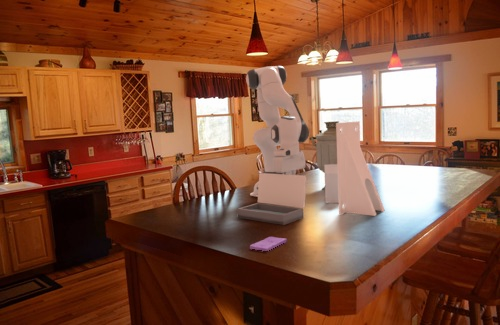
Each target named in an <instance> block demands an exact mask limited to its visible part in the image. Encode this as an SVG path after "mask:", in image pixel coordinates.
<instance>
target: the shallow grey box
mask: <svg viewBox="0 0 500 325" xmlns="http://www.w3.org/2000/svg"><path fill="white" fill-rule="evenodd" d="M236 211H237V218H239V219H245V220H252V221H257V222H263V223H269V224H274V225H275V224H276V225H282V226H285V225H287V224H291V223H293V222H296V221H298V220H302V219H304V208H299V207H291V206H283V205H275V204H267V203H259V202H256V203H253V204H249V205H245V206H241V207H239V208H236Z"/></svg>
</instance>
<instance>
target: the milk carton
mask: <svg viewBox="0 0 500 325" xmlns="http://www.w3.org/2000/svg"><path fill="white" fill-rule="evenodd" d="M324 167H325V173H324V186H325V189H324V191H325V192H324V195H325V203H326V204H339V199H338V168H337V164H332V165H324Z"/></svg>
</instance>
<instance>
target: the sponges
mask: <svg viewBox="0 0 500 325" xmlns="http://www.w3.org/2000/svg"><path fill="white" fill-rule="evenodd" d="M287 242H288V240H287V238H282V237H275V236H268V237H266V238H264V239H263V240H259V241H256V242H255V243H252V244H250V245H249V250H252V249H255V250H254V251H257V250H262V251H261V252H263V251H268V252H270V251H272V250H274V249H276V248H278V247H280V246H282V245H284V244H287ZM283 243H284V244H283ZM281 244H282V245H281ZM279 245H280V246H279ZM277 246H278V247H277ZM275 247H276V248H275ZM273 248H274V249H273ZM271 249H272V250H271ZM269 250H270V251H269Z"/></svg>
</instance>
